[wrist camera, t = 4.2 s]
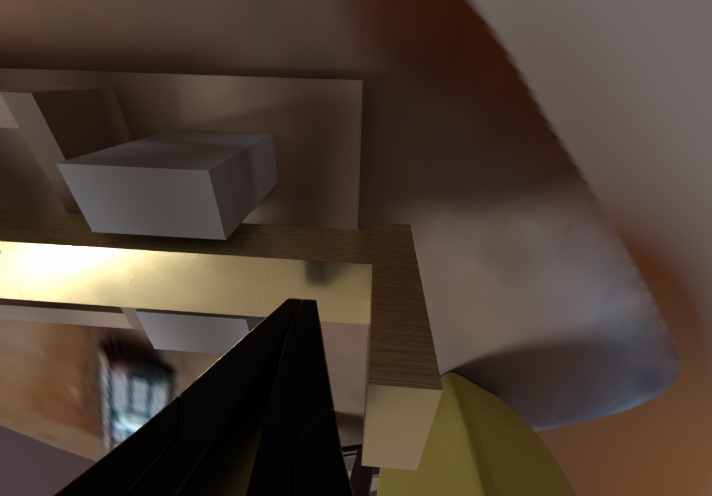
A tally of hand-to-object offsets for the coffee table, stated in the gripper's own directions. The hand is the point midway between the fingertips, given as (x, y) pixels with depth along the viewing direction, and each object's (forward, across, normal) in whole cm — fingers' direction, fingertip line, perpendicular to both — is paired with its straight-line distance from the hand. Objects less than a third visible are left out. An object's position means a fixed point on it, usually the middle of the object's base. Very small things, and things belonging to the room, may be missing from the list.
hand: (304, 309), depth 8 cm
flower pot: (+7, -9, +15) cm, 19 cm away
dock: (+7, +9, 0) cm, 12 cm away
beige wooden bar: (+3, +5, 0) cm, 5 cm away
